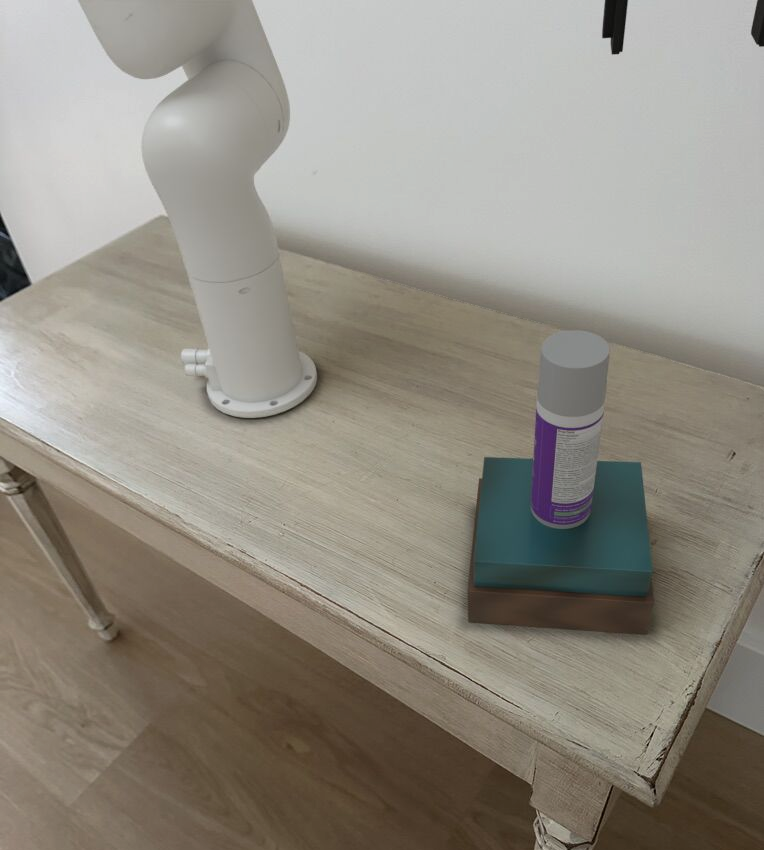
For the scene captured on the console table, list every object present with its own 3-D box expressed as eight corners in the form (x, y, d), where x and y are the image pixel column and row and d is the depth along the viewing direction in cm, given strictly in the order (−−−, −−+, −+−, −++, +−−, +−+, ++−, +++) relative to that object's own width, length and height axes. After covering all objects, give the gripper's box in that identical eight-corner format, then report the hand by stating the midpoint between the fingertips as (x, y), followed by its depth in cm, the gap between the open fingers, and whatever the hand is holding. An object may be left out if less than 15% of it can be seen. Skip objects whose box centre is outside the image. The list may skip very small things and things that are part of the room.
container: (524, 491, 65) (532, 333, 54) (581, 484, 65) (600, 325, 54) (537, 533, 61) (548, 373, 51) (597, 525, 61) (621, 364, 51)
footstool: (468, 622, 65) (466, 566, 60) (479, 509, 73) (478, 452, 69) (646, 634, 62) (660, 577, 57) (635, 516, 71) (647, 458, 66)
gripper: (581, -278, 43) (560, 68, 55) (934, -323, 40) (831, 54, 52) (580, -281, 48) (561, 36, 60) (892, -321, 45) (807, 22, 57)
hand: (686, 44), depth 56 cm, fingers open, 9 cm apart
